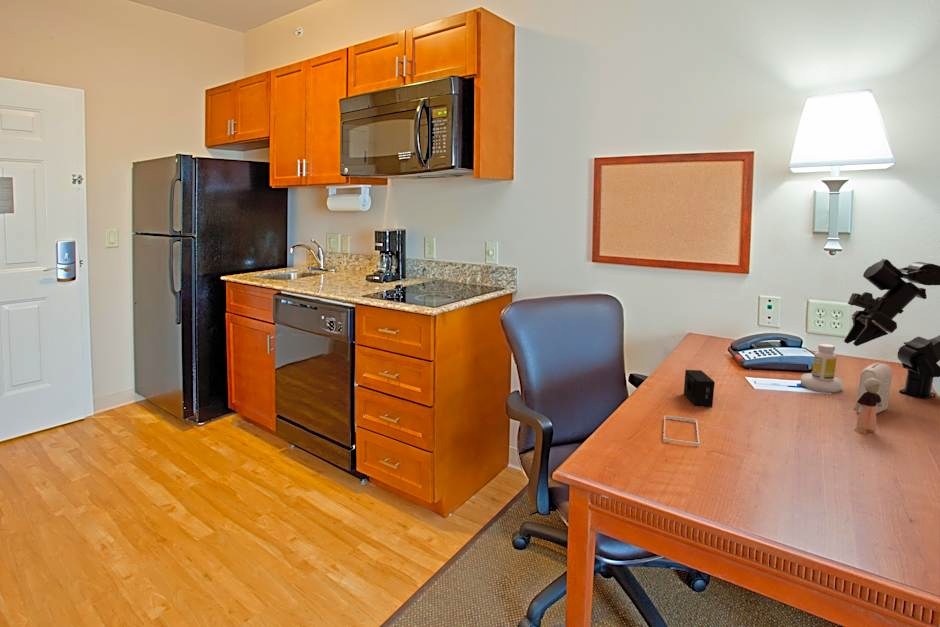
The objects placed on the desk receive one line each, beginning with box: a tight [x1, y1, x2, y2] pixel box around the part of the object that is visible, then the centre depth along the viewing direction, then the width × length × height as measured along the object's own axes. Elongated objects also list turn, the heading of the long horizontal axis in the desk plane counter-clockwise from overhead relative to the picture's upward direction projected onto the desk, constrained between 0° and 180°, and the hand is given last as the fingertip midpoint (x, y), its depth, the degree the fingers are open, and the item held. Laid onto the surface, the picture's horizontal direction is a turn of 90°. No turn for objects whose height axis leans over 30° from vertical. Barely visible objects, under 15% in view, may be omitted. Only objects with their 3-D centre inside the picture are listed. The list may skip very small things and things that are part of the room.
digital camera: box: [683, 369, 715, 408], centre depth 149 cm, size 10×5×7 cm, turn 176°
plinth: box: [800, 372, 843, 393], centre depth 162 cm, size 10×10×2 cm
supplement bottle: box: [811, 343, 837, 381], centre depth 161 cm, size 5×5×10 cm
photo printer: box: [855, 362, 894, 414], centre depth 142 cm, size 10×4×12 cm, turn 123°
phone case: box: [662, 415, 700, 447], centre depth 129 cm, size 7×1×15 cm
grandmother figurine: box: [853, 378, 882, 435], centre depth 129 cm, size 8×4×13 cm, turn 117°
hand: (849, 343), depth 157 cm, fingers open, 9 cm apart
